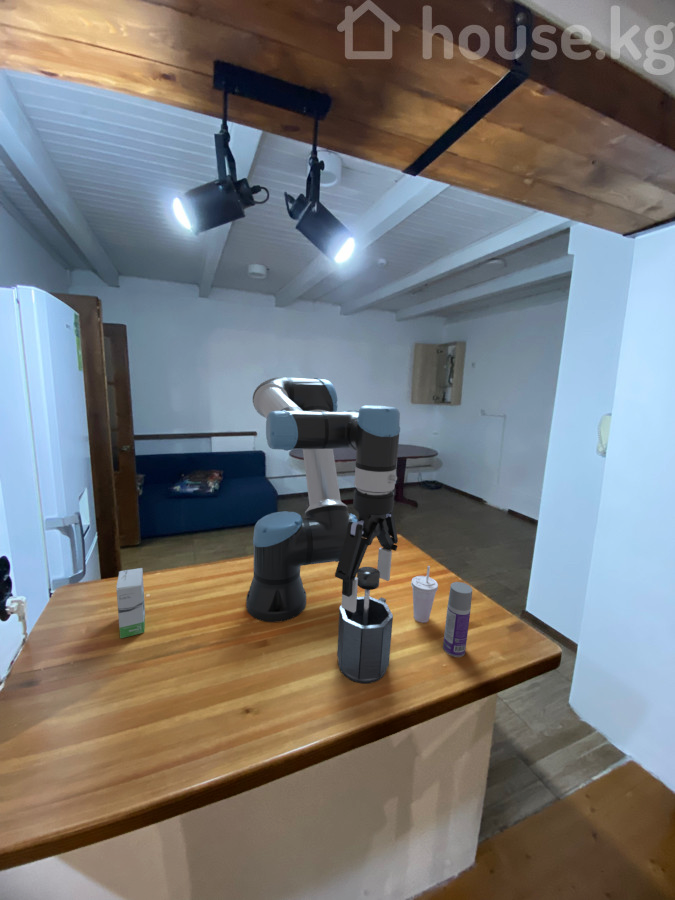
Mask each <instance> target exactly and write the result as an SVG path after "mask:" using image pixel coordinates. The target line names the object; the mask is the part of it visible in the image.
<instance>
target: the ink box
mask: <svg viewBox="0 0 675 900" xmlns="http://www.w3.org/2000/svg"><path fill="white" fill-rule="evenodd" d="M143 571H144V570H143V567H140V568H139V567H138V568H133V569H125V570H120V571H118V576H117V577H118V578H117V582H116V586H115V588H116V600H117V614H118V617H117V618H118V629H119V638H120V639H124V638H128V637H131V636H133V637H134V636H136V635H140V634H144V633H145V629H146V628H145V626H146V624H145V621H146V611H145V609H146V608H145V607H146V606H145V591H144V590H145V589H144V573H143Z"/></svg>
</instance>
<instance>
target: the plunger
mask: <svg viewBox="0 0 675 900" xmlns="http://www.w3.org/2000/svg"><path fill="white" fill-rule="evenodd" d="M356 577H357V578H358V587H359V588H360V589H362V590H364V596H363V597H364V611H363V625H362V626H367V625H368V611H369V597H371V596H370V594H371V593H370V592H371V591H372V590H376V589H378V588H379V586H380V579H381V578H380V572H379V571H378V570H377V568H375V567H372V566H362V567H359V569H358V572H357V575H356Z"/></svg>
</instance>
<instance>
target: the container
mask: <svg viewBox="0 0 675 900" xmlns="http://www.w3.org/2000/svg"><path fill="white" fill-rule="evenodd" d="M449 587H450V588H449V593H448V594H449V595H448V601H447V609H446V616H445V618H446V619H445V626H444V634H443V643H442V644H443V646H442V648H443V651H444V652H445V653H446V654H448V655H449V656H450V657H454V658H461V657H463V656H465V654H466V649H467V642H468V641H467V640H468V634H469V625H470V617H471V611H472V609H471V607H472V599H473V587H472V586H471V585H469V584H467V583H465V582H463V581H462V582H460V581H456V582H452V583H450V586H449Z"/></svg>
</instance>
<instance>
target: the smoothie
mask: <svg viewBox="0 0 675 900" xmlns="http://www.w3.org/2000/svg"><path fill="white" fill-rule="evenodd" d="M426 569H427V570H426V575H417V576H415V577H412V579H411V583H410V584H411V585H410V586H411V587H412V606H413V607H412V608H413V611H412V612H413V619H414V621H416V622H418V623H423V624H424V623H428V622H430V621H429V620H430V616H431V614H432V609H433V604H434V600H435V597H436V593H437V592H438V590H439V584H438V581H436V580H435V579H434V578H432V577H430V569H431V566H430V565H427V568H426Z"/></svg>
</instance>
